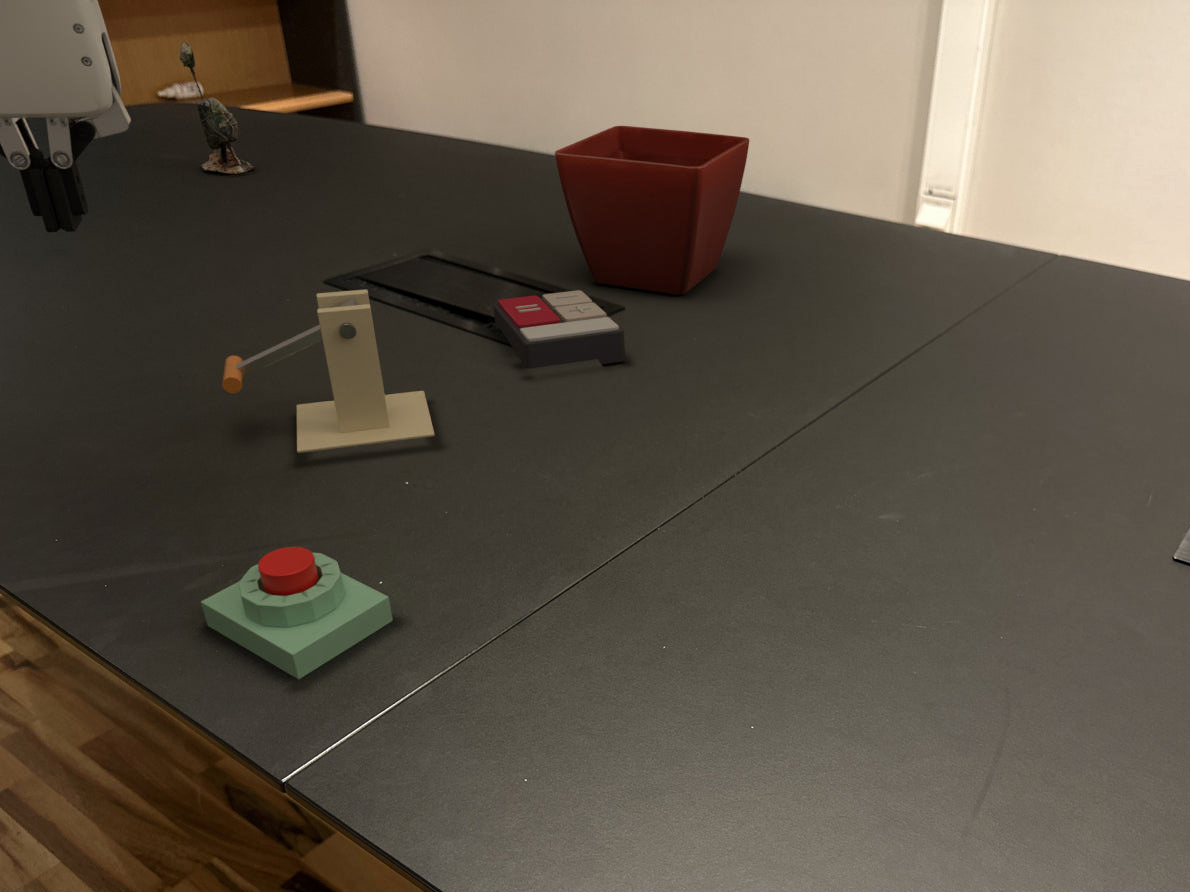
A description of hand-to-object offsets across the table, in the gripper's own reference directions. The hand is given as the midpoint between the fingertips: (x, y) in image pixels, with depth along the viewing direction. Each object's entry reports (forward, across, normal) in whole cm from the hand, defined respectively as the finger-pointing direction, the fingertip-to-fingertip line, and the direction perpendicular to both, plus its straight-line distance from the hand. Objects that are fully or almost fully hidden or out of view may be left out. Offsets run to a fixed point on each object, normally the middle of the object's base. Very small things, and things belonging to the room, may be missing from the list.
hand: (65, 225), depth 70 cm
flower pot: (+24, -55, -52) cm, 79 cm away
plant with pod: (+26, +2, -123) cm, 126 cm away
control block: (+24, -11, +15) cm, 31 cm away
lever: (+17, -12, -15) cm, 26 cm away
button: (+21, -11, +15) cm, 28 cm away
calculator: (+24, -38, -32) cm, 55 cm away
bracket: (+24, -17, -15) cm, 33 cm away
